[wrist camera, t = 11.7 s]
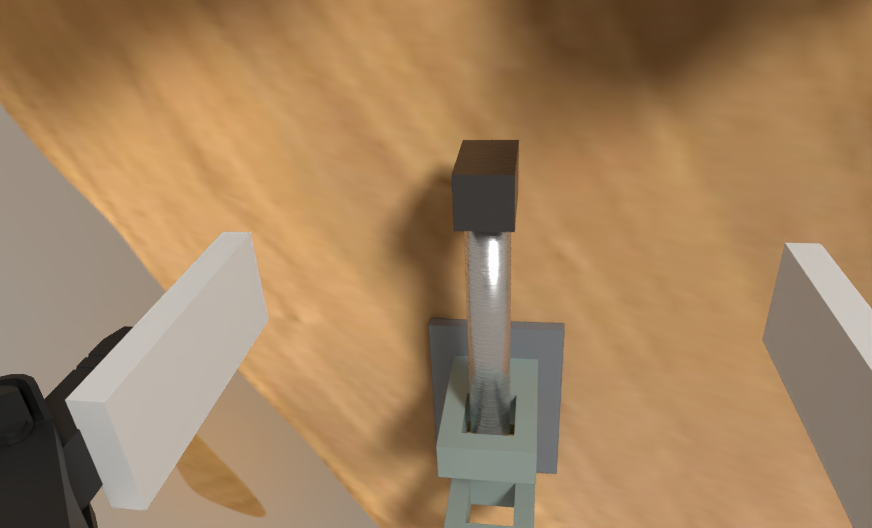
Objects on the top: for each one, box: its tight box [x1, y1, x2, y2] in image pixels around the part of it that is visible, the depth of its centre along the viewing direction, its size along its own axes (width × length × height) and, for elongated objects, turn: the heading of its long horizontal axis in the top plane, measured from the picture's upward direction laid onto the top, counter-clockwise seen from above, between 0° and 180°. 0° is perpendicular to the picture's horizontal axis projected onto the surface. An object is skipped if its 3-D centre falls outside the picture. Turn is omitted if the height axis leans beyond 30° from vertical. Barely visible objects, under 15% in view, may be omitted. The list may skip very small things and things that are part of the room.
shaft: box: [452, 140, 519, 436], centre depth 45 cm, size 22×4×6 cm, turn 3°
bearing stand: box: [428, 318, 564, 528], centre depth 53 cm, size 16×11×12 cm
